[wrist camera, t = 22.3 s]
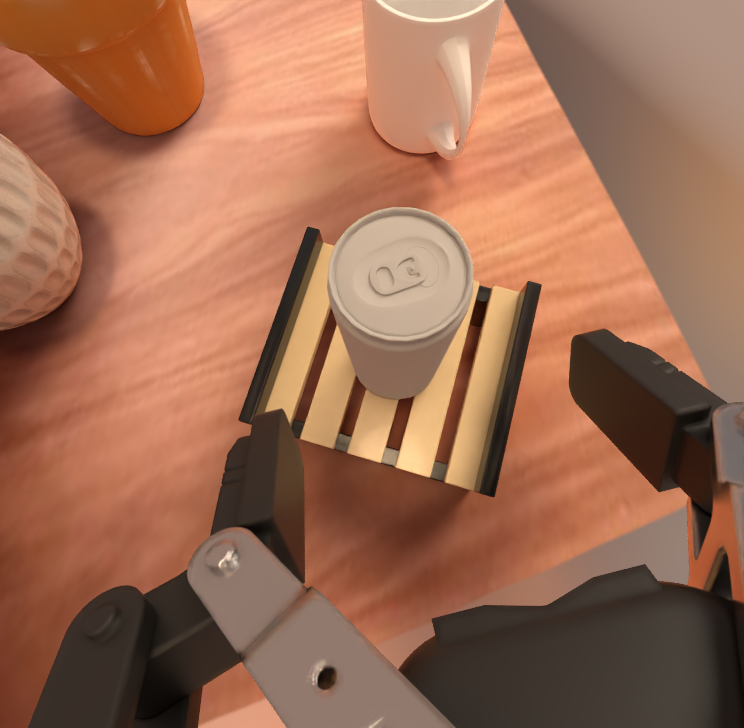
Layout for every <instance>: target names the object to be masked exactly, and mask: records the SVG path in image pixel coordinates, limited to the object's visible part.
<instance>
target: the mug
mask: <svg viewBox="0 0 744 728" xmlns="http://www.w3.org/2000/svg"><path fill="white" fill-rule="evenodd" d="M503 4H504V0H362V12H363V29H364V45H365V62H366V79H367V96H368V107H369V113H370V117H371V121H372V123H373V126H374V127H375V129H376V131H377V132H378V133H379V135H380V136H381V137H382V138H383V139H384V140H385V141H386V142H388V143H389V144H390V145H392V146H394V147H396V148H398V149H400V150H403V151H406V152H410V153H432V152H437V153H438V154H439V155H440V156H441V157H443V158H444V159H447V160H455V159H457V158H458V157H459V156H460V154H461V152H462V150H463V147H464V144H465V141H466V137H467V133H468V129H469V127H470V126H471V124H472V122H473V120H474V117H475V114H476V111H477V108H478V104H479V100H480V96H481V92H482V88H483V84H484V80H485V76H486V72H487V68H488V64H489V60H490V56H491V52H492V48H493V44H494V40H495V36H496V32H497V28H498V24H499V20H500V16H501V12H502V8H503ZM458 140H459V143H458V146H457V147H456V144H455V142H457V141H458Z"/></svg>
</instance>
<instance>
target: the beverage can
mask: <svg viewBox="0 0 744 728" xmlns="http://www.w3.org/2000/svg"><path fill="white" fill-rule="evenodd" d="M327 290H328V295H329V301H330V306H331V309H332V311H333V314H334V317H335V319H336V322H337V325H338V327H339V330H340V333H341V335H342V338H343V341H344V344H345V346H346V349H347V352H348V354H349V357H350V360H351V362H352V365H353V368H354V370H355V373H356V375H357V377H358V379H359V381H360V382H361V383H362V384H363V385H364V386H365V387H366V388H367V389H368V390H369V391H371V392H373V393H374V394H376V395H379V396H382V397H385V398H391V399H404V398H410V397H412V396H414V395H417V394H419V393H420V392H421V391H423V390H424V389H425V388H426V387H427V386H428V385H429V383H430V382H431V380H432V379H433V377H434V375H435V373H436V371H437V369H438V368H439V366H440V364H441V362H442V360H443V358H444V356H445V354H446V352H447V350H448V348H449V346H450V344H451V342H452V341H453V339H454V337H455V335H456V333H457V331H458V329H459V327H460V325H461V323H462V321H463V319H464V317H465V315H466V314H467V311H468V308H469V305H470V301H471V298H472V295H473V263H472V259H471V256H470V252H469V249H468V247H467V245H466V244H465V242H464V240H463V239H462V237H461V236H460V234H459V233H458V232H457V231H456V230H455V229H454V228H453V227H452V226H451V225H450V224H449V223H448V222H447V221H445V220H443V219H442V218H440V217H438V216H436V215H434V214H432V213H431V212H427V211H424V210H420V209H416V208H413V207H392V208H387V209H382V210H377V211H374V212H372V213H370V214H368V215H366V216H364V217H362V218H360V219H359V220H357V221H356V222H355V223H354V224H352V225H351V226H350V227H349V228H348V229H346V230H345V232H344V233H343V235H342V236H341V237H340V239H339V240H338V242H337V243H336V244H335V247H334V250H333V252H332V255H331V258H330V260H329V270H328V280H327Z"/></svg>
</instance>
